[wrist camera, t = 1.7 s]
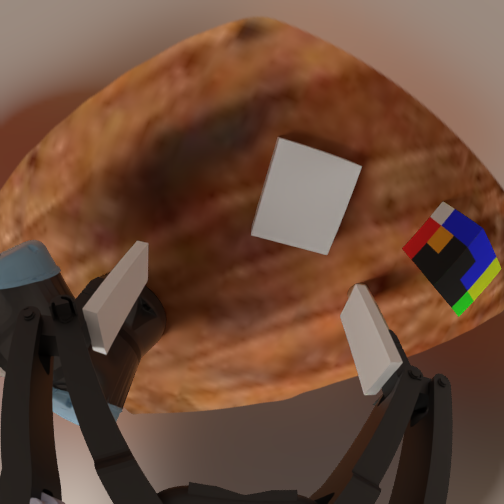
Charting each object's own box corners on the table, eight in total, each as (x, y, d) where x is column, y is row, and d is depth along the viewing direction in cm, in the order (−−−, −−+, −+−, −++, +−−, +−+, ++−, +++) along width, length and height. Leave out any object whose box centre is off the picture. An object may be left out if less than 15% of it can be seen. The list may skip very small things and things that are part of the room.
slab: (251, 224, 36) (250, 235, 33) (277, 136, 31) (279, 138, 27) (321, 243, 37) (327, 255, 34) (352, 161, 31) (361, 166, 28)
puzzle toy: (442, 201, 32) (482, 227, 24) (467, 238, 35) (501, 268, 26) (401, 248, 36) (433, 285, 28) (430, 280, 39) (458, 316, 30)
